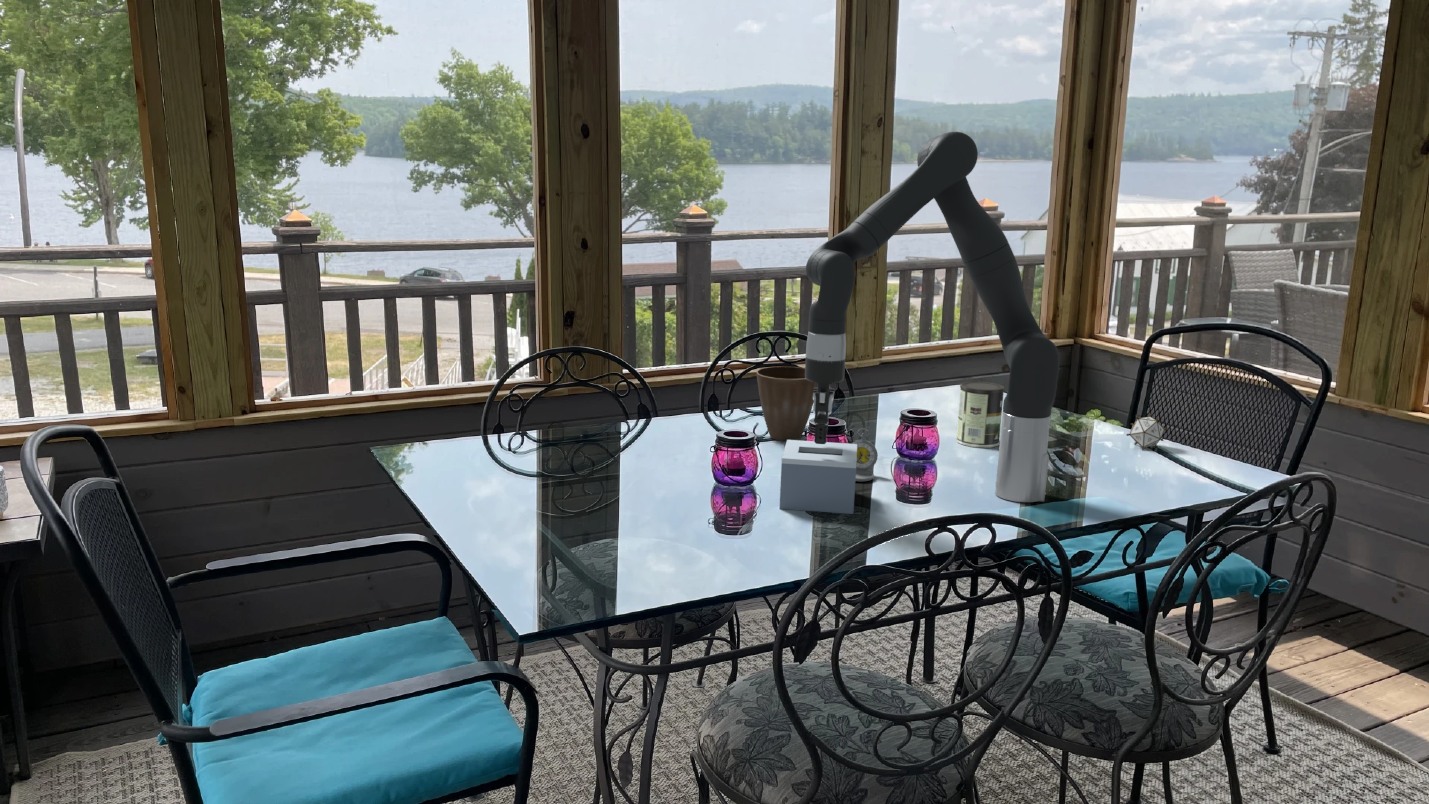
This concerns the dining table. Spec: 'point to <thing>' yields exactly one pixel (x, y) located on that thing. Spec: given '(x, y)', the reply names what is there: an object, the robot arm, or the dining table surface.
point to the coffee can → (980, 414)
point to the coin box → (818, 476)
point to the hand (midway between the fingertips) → (821, 438)
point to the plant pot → (785, 401)
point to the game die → (1146, 431)
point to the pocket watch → (861, 467)
